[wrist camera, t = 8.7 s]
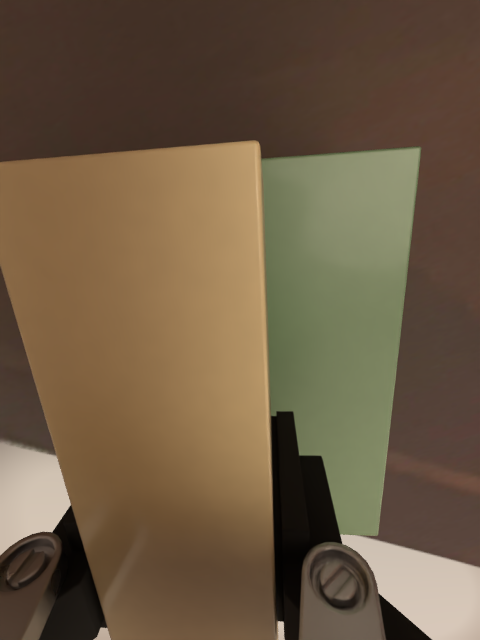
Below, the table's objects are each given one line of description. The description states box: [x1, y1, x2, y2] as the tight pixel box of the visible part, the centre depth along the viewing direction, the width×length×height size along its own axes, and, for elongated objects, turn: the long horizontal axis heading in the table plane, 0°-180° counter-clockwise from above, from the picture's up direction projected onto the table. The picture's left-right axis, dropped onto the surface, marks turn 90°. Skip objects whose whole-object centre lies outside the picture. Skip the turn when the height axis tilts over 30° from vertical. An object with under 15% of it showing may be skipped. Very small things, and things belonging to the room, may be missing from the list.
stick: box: [0, 140, 278, 640], centre depth 8 cm, size 4×16×4 cm, turn 3°
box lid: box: [261, 146, 421, 536], centre depth 14 cm, size 13×18×1 cm
